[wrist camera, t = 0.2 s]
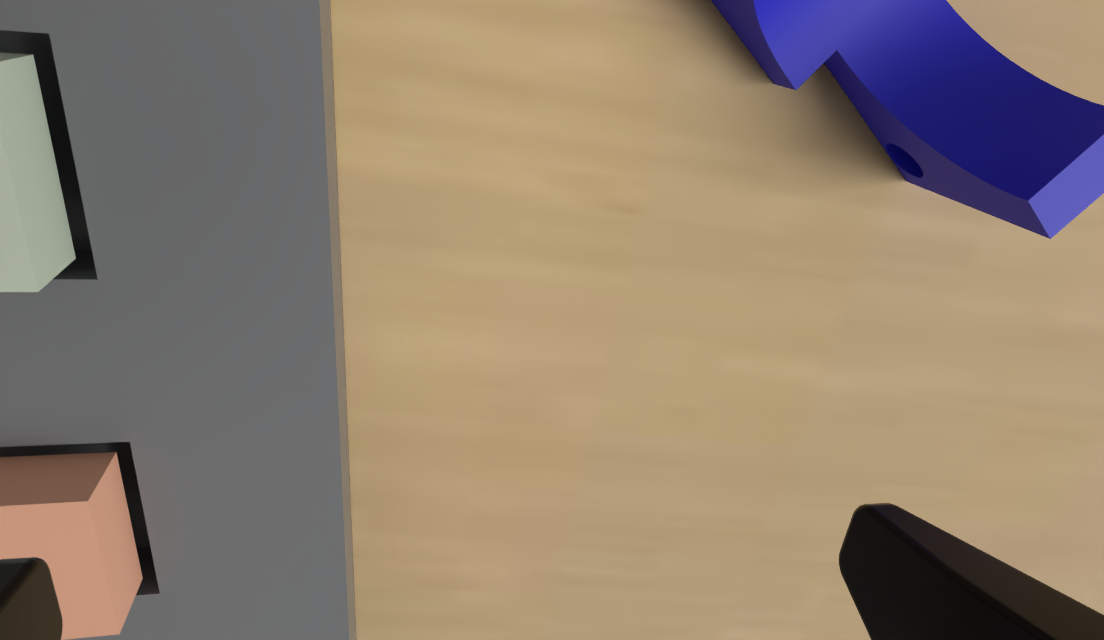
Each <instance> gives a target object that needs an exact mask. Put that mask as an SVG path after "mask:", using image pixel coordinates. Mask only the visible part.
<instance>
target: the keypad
mask: <svg viewBox="0 0 1104 640" xmlns="http://www.w3.org/2000/svg"><path fill="white" fill-rule="evenodd" d="M0 52H3V53H18V54H33V56H34V60H35V65H36V70H37V75H38V80H39V84H40V89H41V94H42V99H43V103H44V108H45V113H46V118H47V123H48V127H49V132H50V137H51V142H52V147H53V151H54V156H55V161H56V166H57V170H58V175H59V180H60V185H61V190H62V194H63V199H64V204H65V209H66V214H67V218H68V223H69V228H70V233H71V237H72V242H73V247H74V252H75V257H76V259H75V260H74V261H72V262H71V263H70V264H69V265H68V266H67V267H66V268H65V269H64V270H62V271H61V272H60V273H59V274H58V275H57V276H56V277H55V278H53V279H52V280H51V281H50V282H49V283H48V284H47V285H46V286H44V287H43V288H42V289H41V290H40V291H39V292H0V457H15V456H38V455H61V454H84V453H107V452H116V453H117V458H118V462H119V467H120V472H121V477H122V482H123V486H124V491H125V496H126V501H127V506H128V510H129V515H130V520H131V525H132V529H133V534H134V539H135V544H136V549H137V553H138V558H139V563H140V568H141V573H142V577H143V579H142V581H141V584H140V586H139V589H138V591H137V593H136V596H135V598H134V601H133V603H132V606H131V608H130V610H129V613H128V615H127V618H126V620H125V622H124V625H123V627H122V630H121V632H120V634H118V635H107V636H97V637H86V638H75V639H65V640H356V620H355V596H354V571H353V547H352V522H351V498H350V474H349V449H348V425H347V400H346V376H345V351H344V327H343V303H342V278H341V254H340V229H339V205H338V180H337V156H336V132H335V107H334V83H333V58H332V34H331V10H330V0H0Z"/></svg>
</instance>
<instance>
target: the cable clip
mask: <svg viewBox="0 0 1104 640" xmlns="http://www.w3.org/2000/svg"><path fill="white" fill-rule="evenodd" d="M711 1H712V2H713V3H714V5H715V6H716V7H717V9H718V10H719V11H720V13H721V14H722V15H723V17H724V18H725V19H726V21H727V22H728V23H729V25H730V26H731V27H732V29H733V30H734V31H735V33H736V34H737V35H738V37H739V38H740V39H741V41H742V42H743V43H744V45H745V46H746V47H747V49H748V50H749V51H750V53H751V54H752V55H753V57H754V58H755V59H756V61H757V62H758V63H759V65H760V66H761V67H762V69H763V70H764V71H765V73H766V74H767V75H768V77H769V78H770V79H771V81H772V82H773V83H774V84H776V85H780V86H783V87H787V88H790V89H794V90H797V89H798V88H799V87H800V86H801V85H802V84H803V83H804V82H805V81H806V80H807V79H808V78H809V77H810V76H811V75H812V74H813V73H814V72H815V71H816V70H817V69H818V68H819V67H820V66H821V65H822V64H823V63H825V65H826V66H827V68H828V69H829V70H830V72H831V73H832V75H833V76H834V78H835V79H836V81H837V82H838V83H839V85H840V86H841V88H842V89H843V91H844V92H845V94H846V95H847V96H848V98H849V99H850V101H851V102H852V104H853V105H854V106H855V108H856V109H857V111H858V112H859V114H860V115H861V117H862V118H863V119H864V121H865V122H866V124H867V125H868V127H869V128H870V129H871V131H872V132H873V134H874V135H875V137H876V138H877V140H878V141H879V142H880V144H881V145H882V147H883V148H884V150H885V151H886V152H887V154H888V155H889V157H890V158H891V160H892V161H893V163H894V164H895V165H896V167H897V168H898V170H899V171H900V173H901V174H902V175H903V177H904V178H905V180H906V181H907V182H910V183H912V184H915V185H917V186H920V187H922V188H925V189H927V190H930V191H932V192H935V193H937V194H940V195H942V196H945V197H947V198H950V199H952V200H955V201H957V202H960V203H962V204H965V205H967V206H970V207H972V208H975V209H977V210H980V211H982V212H985V213H987V214H990V215H992V216H995V217H997V218H1000V219H1002V220H1005V221H1007V222H1010V223H1012V224H1015V225H1017V226H1020V227H1022V228H1025V229H1027V230H1030V231H1032V232H1035V233H1037V234H1040V235H1042V236H1045V237H1047V238H1050V239H1051V238H1052V237H1053V236H1054V235H1055V234H1057V233H1058V232H1059V231H1060V230H1061V229H1062V228H1064V227H1065V226H1066V225H1067V224H1068V223H1069V222H1071V221H1072V220H1073V219H1074V218H1075V217H1076V216H1078V215H1079V214H1080V213H1081V212H1082V211H1083V210H1084V209H1086V208H1087V207H1088V206H1089V205H1090V204H1091V203H1093V202H1094V201H1095V200H1096V199H1097V198H1098V197H1100V196H1101V195H1102V194H1103V193H1104V106H1103V105H1100V104H1096V103H1093V102H1090V101H1088V100H1085V99H1082V98H1079V97H1077V96H1074V95H1072V94H1070V93H1067V92H1065V91H1063V90H1061V89H1058V88H1056V87H1054V86H1052V85H1050V84H1048V83H1047V82H1045V81H1043V80H1041V79H1039V78H1037V77H1036V76H1034V75H1032V74H1031V73H1029V72H1027V71H1026V70H1024V69H1022V68H1021V67H1019V66H1018V65H1016V64H1015V63H1013V62H1012V61H1010V60H1009V59H1008V58H1006V57H1005V56H1004V55H1002V54H1001V53H1000V52H998V51H997V50H996V49H995V48H993V47H992V46H991V45H990V44H989V43H987V42H986V41H985V40H984V39H983V38H982V37H980V36H979V35H978V34H977V33H976V32H975V31H974V30H973V29H972V28H971V27H970V26H969V25H968V24H967V23H966V22H965V21H964V20H963V19H962V18H961V17H960V16H959V15H958V14H957V13H956V11H955V10H954V9H953V8H952V7H951V5H950V4H949V3H948V2H947V1H946V0H711Z"/></svg>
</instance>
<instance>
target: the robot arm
mask: <svg viewBox="0 0 1104 640" xmlns="http://www.w3.org/2000/svg"><path fill="white" fill-rule="evenodd" d="M839 566H840V570H841V574H842V576H843V579H844V581H845V583H846V585H847V587H848V590H849V592H850V594H851V596H852V598H853V601H854V603H855V605H856V607H857V609H858V612H859V614H860V616H861V618H862V620H863V623H864V625H865V627H866V629H867V631H868V634H869V636H870V638H871V640H1104V615H1103V614H1101V613H1099V612H1097V611H1095V610H1093V609H1091V608H1089V607H1087V606H1085V605H1084V604H1082V603H1080V602H1078V601H1076V600H1074V599H1072V598H1070V597H1068V596H1067V595H1065V594H1063V593H1061V592H1059V591H1057V590H1055V589H1053V588H1051V587H1049V586H1048V585H1046V584H1044V583H1042V582H1040V581H1038V580H1036V579H1034V578H1032V577H1031V576H1029V575H1027V574H1025V573H1023V572H1021V571H1019V570H1017V569H1015V568H1013V567H1012V566H1010V565H1008V564H1006V563H1004V562H1002V561H1000V560H998V559H996V558H995V557H993V556H991V555H989V554H987V553H985V552H983V551H981V550H979V549H977V548H976V547H974V546H972V545H970V544H968V543H966V542H964V541H962V540H960V539H959V538H957V537H955V536H953V535H951V534H949V533H947V532H945V531H943V530H941V529H940V528H938V527H936V526H934V525H932V524H930V523H928V522H926V521H924V520H923V519H921V518H919V517H917V516H915V515H913V514H911V513H909V512H907V511H905V510H904V509H902V508H900V507H898V506H896V505H894V504H890V503H877V504H864V505H861V506H859V507H858V508H857V509H856V510H855V511H854V513H853V516H852V519H851V521H850V524H849V527H848V530H847V533H846V536H845V538H844V541H843V544H842V547H841V550H840V553H839ZM62 628H63V621H62V614H61V610H60V607H59V603H58V599H57V595H56V592H55V588H54V584H53V580H52V576H51V573H50V569H49V567H48V564H47V563H46V562H45V561H44V560H43V559H41V558H37V557H30V558H14V559H1V560H0V640H61V636H62Z"/></svg>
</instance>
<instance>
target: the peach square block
mask: <svg viewBox="0 0 1104 640" xmlns="http://www.w3.org/2000/svg"><path fill="white" fill-rule="evenodd" d="M30 557H37V558H41V559H43V560H44V561H45V562H46V563H47V564H48V567H49V569H50V573H51V576H52V580H53V584H54V588H55V592H56V595H57V599H58V603H59V607H60V610H61V614H62V621H63V628H62V636H61V640H65V639H75V638H86V637H97V636H107V635H118V634H120V632H121V630H122V627H123V625H124V622H125V620H126V618H127V615H128V613H129V610H130V608H131V606H132V603H133V601H134V598H135V596H136V593H137V591H138V589H139V586H140V584H141V581H142V579H143V577H142V573H141V568H140V563H139V558H138V553H137V549H136V544H135V539H134V534H133V529H132V525H131V520H130V515H129V510H128V506H127V501H126V496H125V491H124V486H123V482H122V477H121V472H120V467H119V462H118V458H117V453H116V452H107V453H84V454H61V455H38V456H15V457H0V560H1V559H14V558H30Z"/></svg>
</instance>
